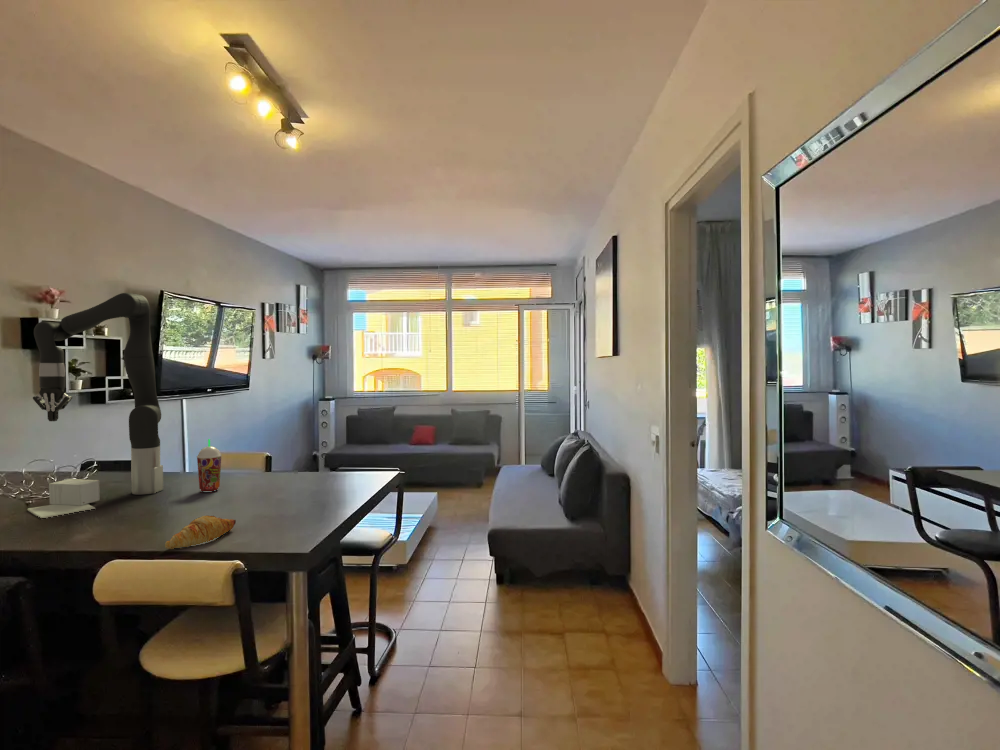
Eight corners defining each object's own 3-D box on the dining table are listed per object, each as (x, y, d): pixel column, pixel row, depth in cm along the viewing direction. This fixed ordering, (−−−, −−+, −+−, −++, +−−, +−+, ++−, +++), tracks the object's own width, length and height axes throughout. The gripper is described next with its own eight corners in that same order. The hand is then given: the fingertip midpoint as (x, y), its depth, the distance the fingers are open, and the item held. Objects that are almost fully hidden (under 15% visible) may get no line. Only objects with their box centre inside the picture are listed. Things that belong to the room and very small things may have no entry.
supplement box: (69, 498, 191) (100, 500, 189) (48, 504, 183) (80, 506, 181) (69, 478, 190) (100, 479, 188) (48, 482, 183) (80, 484, 181)
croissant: (173, 567, 140) (182, 542, 138) (150, 544, 143) (158, 520, 141) (240, 540, 159) (249, 518, 157) (218, 521, 162) (227, 499, 160)
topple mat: (27, 510, 178) (27, 508, 178) (79, 501, 189) (79, 500, 189) (41, 519, 168) (41, 517, 168) (95, 509, 180) (95, 507, 180)
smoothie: (214, 493, 201) (214, 440, 201) (192, 493, 201) (191, 440, 201) (226, 488, 210) (225, 437, 209) (205, 488, 210) (204, 437, 209)
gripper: (25, 375, 197) (26, 422, 197) (64, 375, 198) (64, 422, 198) (41, 374, 204) (41, 420, 205) (78, 374, 205) (78, 420, 206)
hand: (53, 421), depth 201 cm, fingers closed
